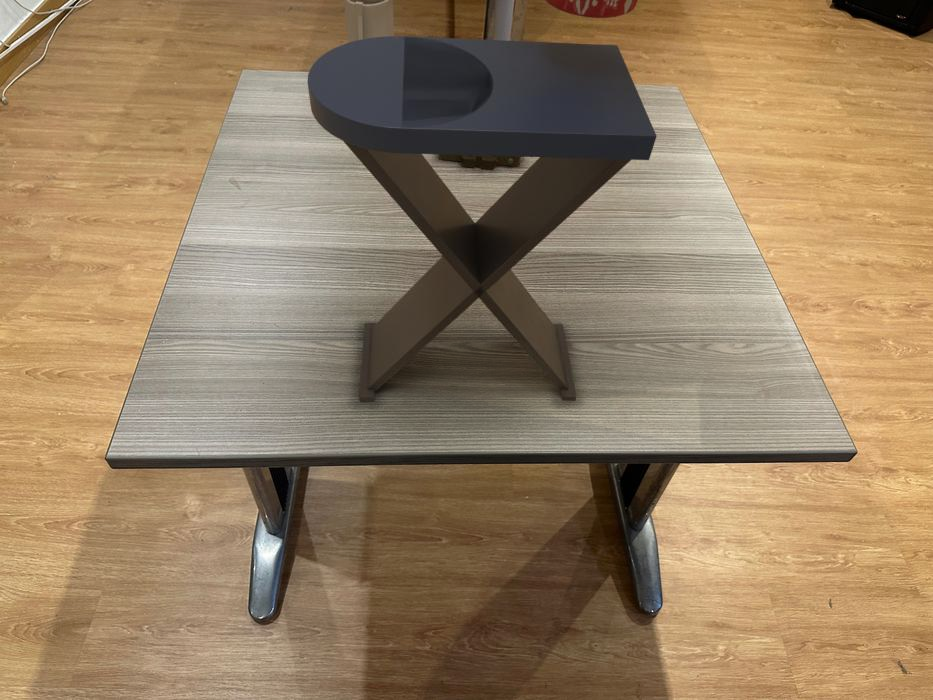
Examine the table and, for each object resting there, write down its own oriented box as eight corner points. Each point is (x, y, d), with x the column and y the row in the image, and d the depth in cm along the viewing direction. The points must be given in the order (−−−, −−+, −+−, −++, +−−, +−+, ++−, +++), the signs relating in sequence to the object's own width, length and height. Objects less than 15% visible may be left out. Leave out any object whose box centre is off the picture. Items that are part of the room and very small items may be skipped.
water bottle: (358, 104, 110) (347, -61, 91) (403, 111, 110) (401, -53, 91) (341, 132, 104) (325, -38, 85) (388, 140, 104) (382, -30, 85)
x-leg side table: (559, 320, 81) (629, 45, 55) (577, 413, 72) (670, 136, 46) (349, 319, 79) (317, 32, 52) (340, 414, 70) (296, 124, 43)
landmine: (433, 149, 98) (442, 100, 108) (433, 165, 100) (441, 114, 110) (525, 158, 98) (525, 107, 108) (523, 173, 100) (523, 122, 110)
